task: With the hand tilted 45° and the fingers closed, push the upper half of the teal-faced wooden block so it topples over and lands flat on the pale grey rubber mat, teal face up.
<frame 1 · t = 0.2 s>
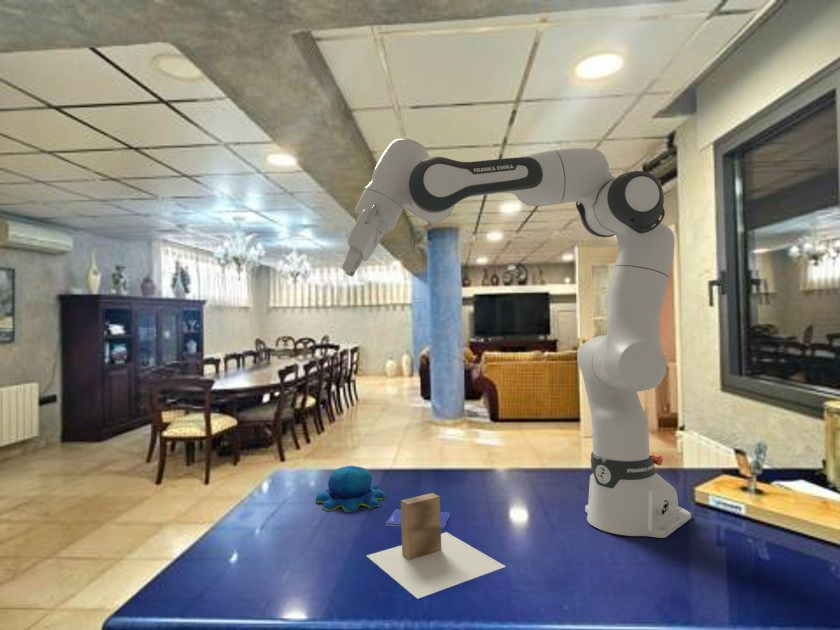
hand: (347, 273, 105), 53 cm above the kitchen counter, tool tilted 30°, fingers open, 8 cm apart
plush toy: (351, 501, 127), on the kitchen counter
mat: (434, 563, 92), on the kitchen counter
hard drive: (418, 525, 111), on the kitchen counter
teal-faced wooden block: (422, 552, 95), resting on mat
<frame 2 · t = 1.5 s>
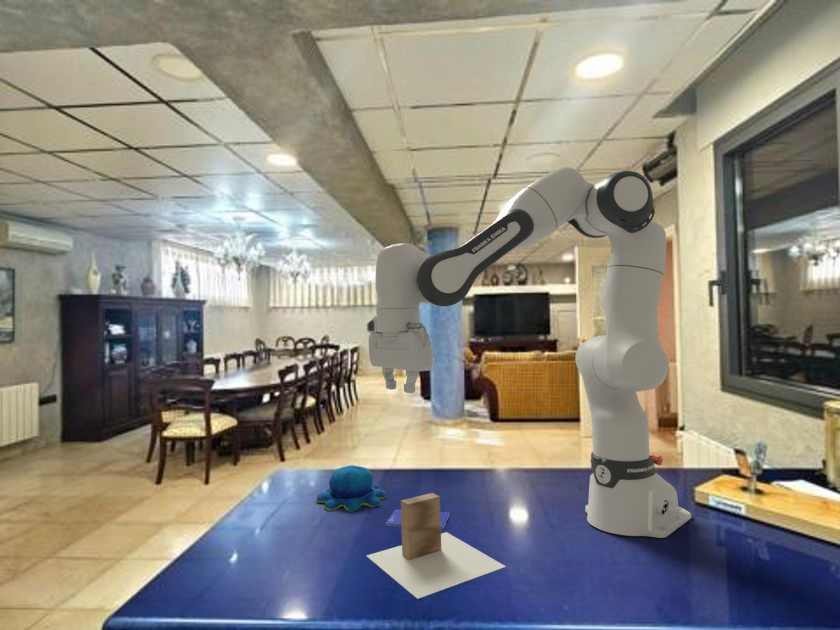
hand: (400, 390, 105), 29 cm above the kitchen counter, tool pointing down, fingers open, 6 cm apart
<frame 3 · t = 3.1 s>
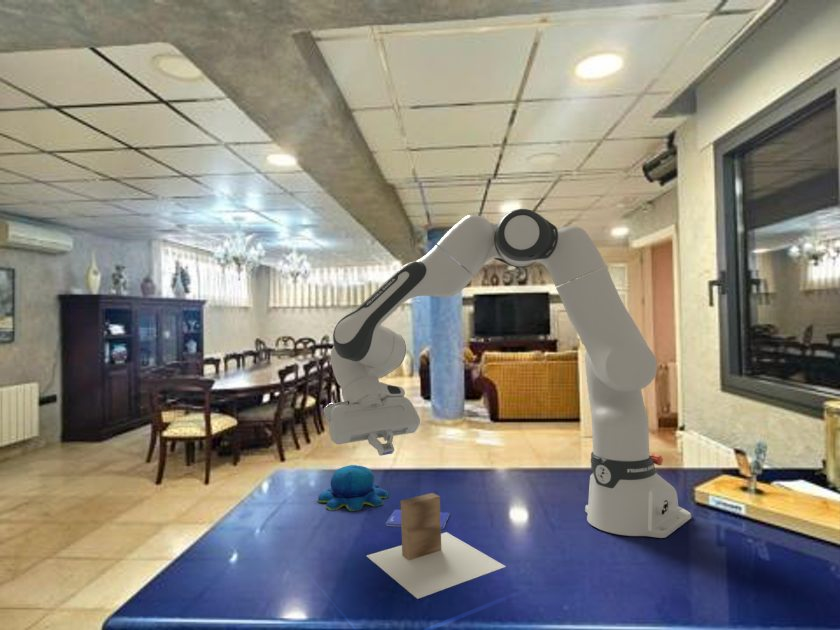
hand: (387, 453, 106), 16 cm above the kitchen counter, tool tilted 45°, fingers closed
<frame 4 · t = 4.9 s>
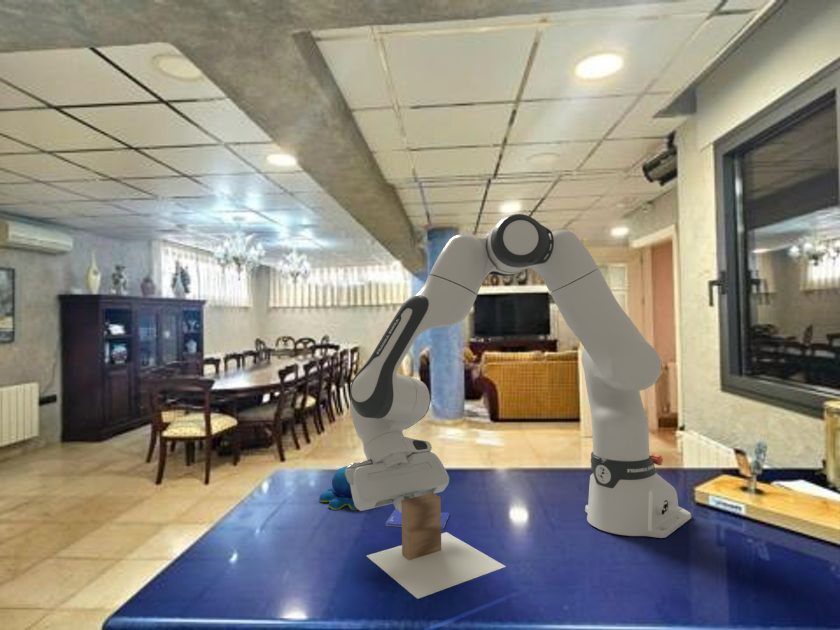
hand: (415, 519, 97), 6 cm above the kitchen counter, tool tilted 45°, fingers closed
teal-faced wooden block: (422, 552, 95), resting on mat, touching gripper
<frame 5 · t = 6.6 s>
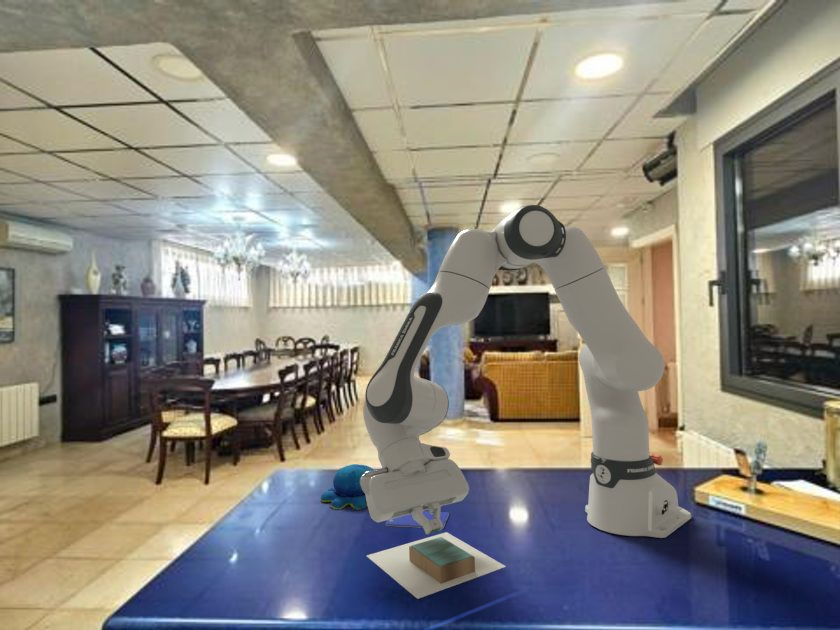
hand: (435, 531, 91), 6 cm above the kitchen counter, tool tilted 45°, fingers closed
teal-faced wooden block: (425, 548, 94), point 2 cm above the kitchen counter, tilted 90°, touching mat
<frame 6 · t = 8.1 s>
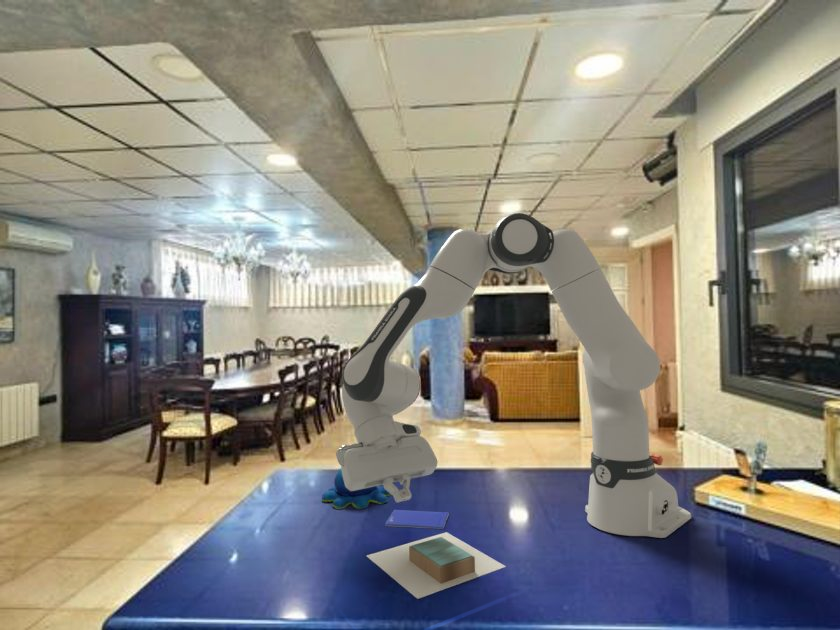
hand: (404, 499, 100), 9 cm above the kitchen counter, tool tilted 45°, fingers closed
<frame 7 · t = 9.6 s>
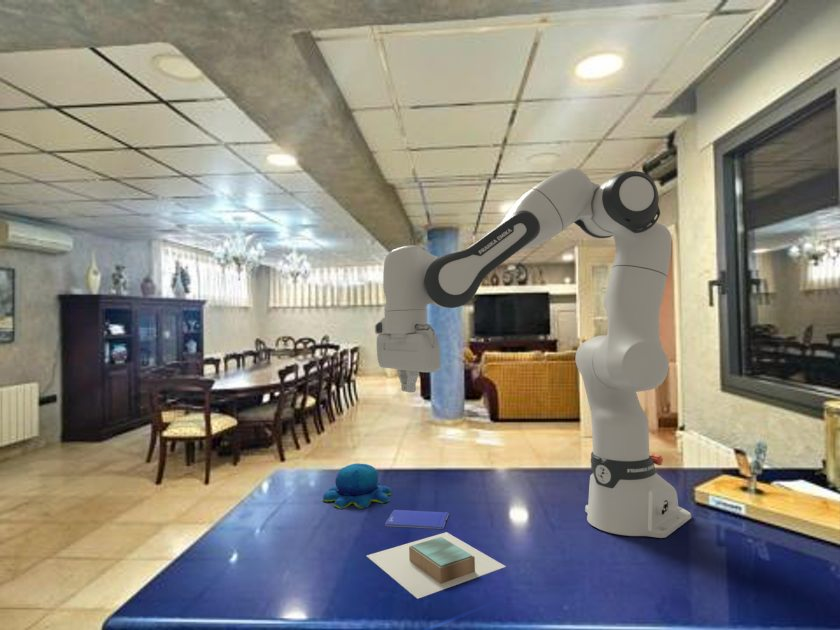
hand: (408, 391, 106), 29 cm above the kitchen counter, tool pointing down, fingers closed
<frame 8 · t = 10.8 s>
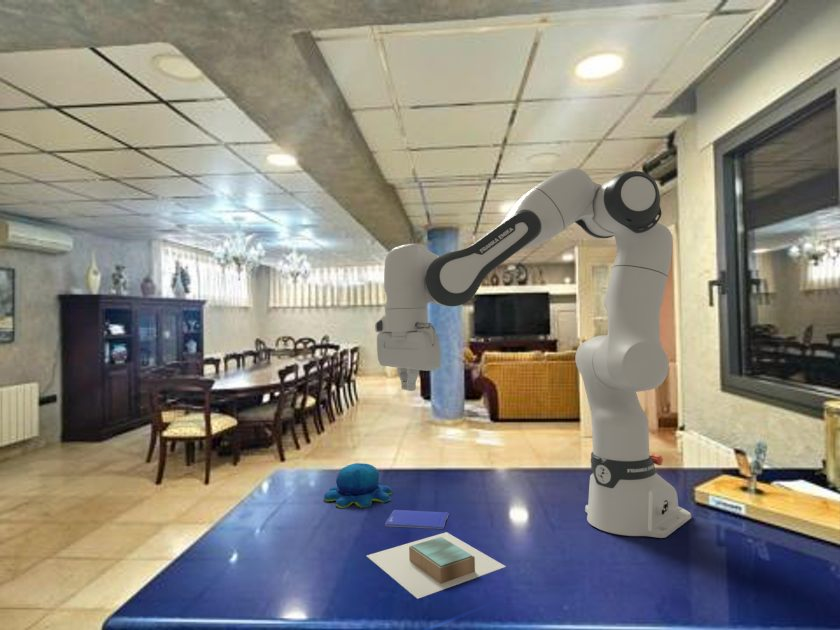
hand: (408, 390, 106), 29 cm above the kitchen counter, tool pointing down, fingers closed
at the end: teal-faced wooden block tilted 90°; teal-faced wooden block inside the target area on the mat (2.6 cm from its centre), point 1.6 cm above the mat's base; the gripper is holding nothing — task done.
